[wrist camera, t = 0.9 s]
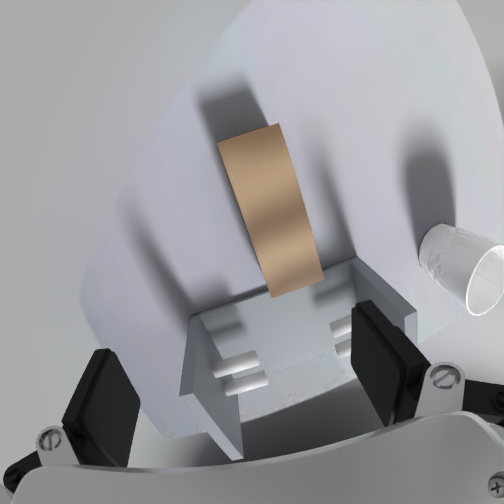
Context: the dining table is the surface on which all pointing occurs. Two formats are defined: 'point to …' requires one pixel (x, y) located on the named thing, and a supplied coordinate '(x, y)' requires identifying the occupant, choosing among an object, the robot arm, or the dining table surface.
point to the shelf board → (272, 208)
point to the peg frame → (276, 341)
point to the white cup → (464, 266)
